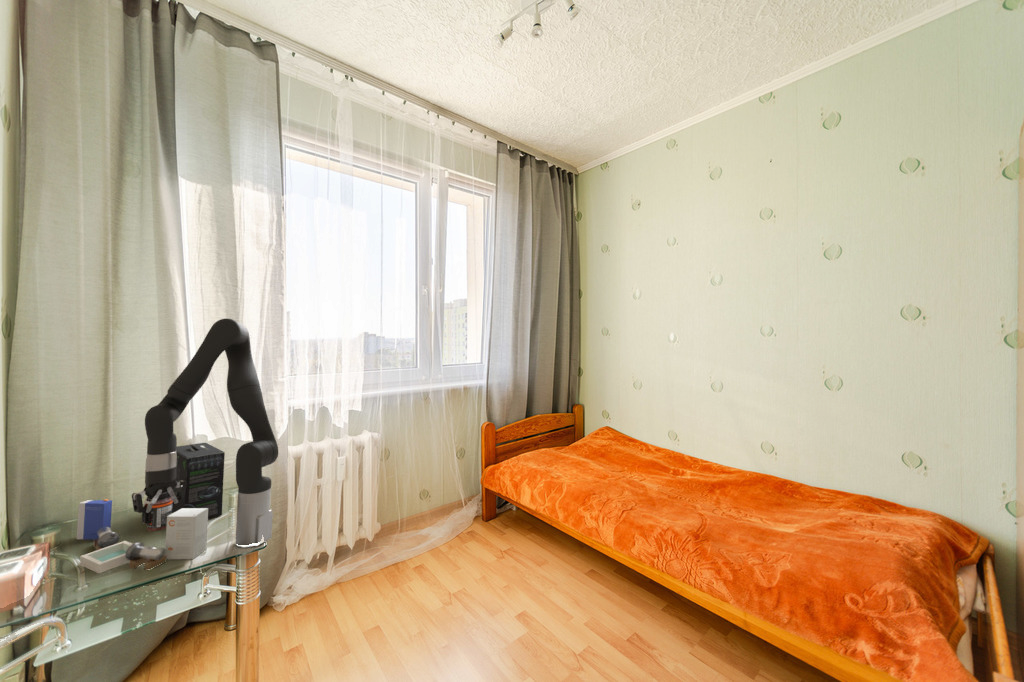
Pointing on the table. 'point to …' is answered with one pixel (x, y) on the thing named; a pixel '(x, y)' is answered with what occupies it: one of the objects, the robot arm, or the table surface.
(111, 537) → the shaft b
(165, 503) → the supplement bottle
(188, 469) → the headset box
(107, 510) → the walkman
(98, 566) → the shallow white dish
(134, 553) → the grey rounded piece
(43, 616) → the table surface
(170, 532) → the small box
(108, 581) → the table surface
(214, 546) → the table surface
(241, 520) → the robot arm
